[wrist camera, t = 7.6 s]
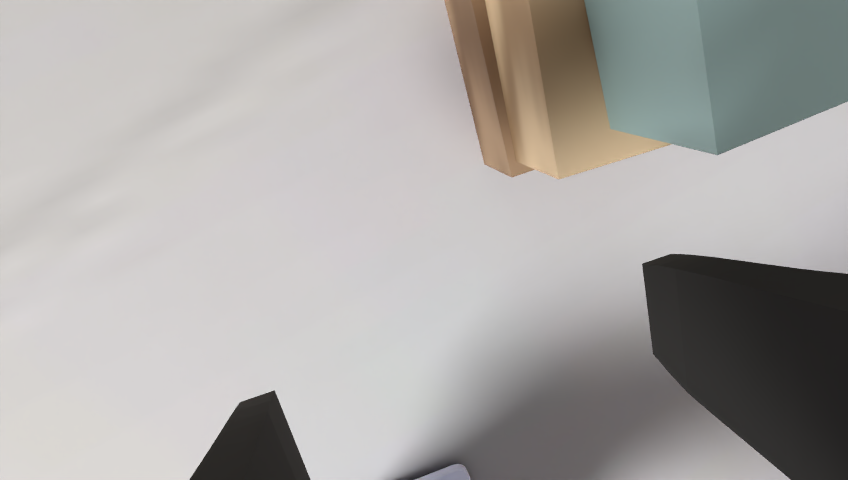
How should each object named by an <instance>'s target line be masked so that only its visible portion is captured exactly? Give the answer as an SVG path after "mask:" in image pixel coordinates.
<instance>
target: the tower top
mask: <svg viewBox="0 0 848 480" xmlns="http://www.w3.org/2000/svg"><path fill="white" fill-rule="evenodd" d="M485 3H486V9H487V14H488V19H489V24H490V29H491V34H492V40H493V45H494V50H495V55H496V60H497V66H498V71H499V76H500V81H501V86H502V92H503V97H504V102H505V107H506V112H507V117H508V123H509V128H510V133H511V138H512V143H513V149H514V154H515V159H516V162H518V163H521V164H523V165H525V166H528V167H530V168H533V169H535V170H537V171H540V172H542V173H545V174H547V175H549V176H552V177H554V178H557V179H562V178H565V177H568V176H571V175H574V174H578V173H581V172H584V171H587V170H591V169H594V168H597V167H600V166H603V165H607V164H610V163H613V162H616V161H620V160H623V159H626V158H629V157H632V156H636V155H639V154H642V153H645V152H648V151H652V150H655V149H658V148H661V147H665V146H668V145H671V144H670V143H666V142H662V141H658V140H654V139H649V138H645V137H641V136H637V135H633V134H629V133H625V132H621V131H617V130H613V129H610V124H609V120H608V115H607V110H606V105H605V100H604V95H603V90H602V85H601V80H600V75H599V71H598V66H597V61H596V56H595V51H594V46H593V41H592V36H591V31H590V26H589V21H588V17H587V12H586V7H585V2H584V0H485Z"/></svg>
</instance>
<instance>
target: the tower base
mask: <svg viewBox="0 0 848 480" xmlns="http://www.w3.org/2000/svg"><path fill="white" fill-rule="evenodd" d="M445 4H446V9H447V13H448V17H449V21H450V25H451V29H452V33H453V37H454V41H455V45H456V49H457V54H458V58H459V62H460V66H461V70H462V74H463V78H464V82H465V86H466V90H467V94H468V99H469V103H470V107H471V111H472V115H473V119H474V123H475V127H476V131H477V135H478V140H479V144H480V148H481V152H482V156H483V160H484V164H485V165H487V166H489V167H491V168H494V169H496V170H498V171H500V172H502V173H504V174H506V175H508V176H510V177H514V176H517V175H520V174H523V173H526V172H529V171H532V170H535V169H533V168H530V167H528V166H525V165H523V164H521V163H518V162H516V159H515V154H514V149H513V143H512V138H511V133H510V128H509V123H508V117H507V112H506V107H505V102H504V97H503V92H502V86H501V81H500V76H499V71H498V66H497V60H496V55H495V50H494V45H493V40H492V34H491V29H490V24H489V19H488V14H487V9H486V3H485V0H445Z"/></svg>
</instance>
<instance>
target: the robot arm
mask: <svg viewBox="0 0 848 480" xmlns="http://www.w3.org/2000/svg"><path fill="white" fill-rule="evenodd" d="M642 265H643V274H644V282H645V290H646V298H647V307H648V315H649V323H650V331H651V340H652V348H653V354H654V355H655V357H656V358H657V359H658V360H659V361H660V362H661V364H662V365H663V366H664V367H665V368H666V369H667V370H668V372H669V373H670V374H671V375H672V376H673V377H674V378H675V379H676V380H677V382H678V383H679V384H680V385H681V386H682V387H683V388H684V389H685V390H686V391H687V392H688V393H689V394H690V395H691V396H692V397H694V398H695V399H696V400H697V401H698V402H699V403H700V404H702V405H703V406H704V407H705V408H706V409H707V410H709V411H710V412H711V413H712V414H713V415H714V416H716V417H717V418H718V419H719V420H720V421H721V422H723V423H724V424H725V425H726V426H727V427H729V428H730V429H731V430H732V431H733V432H735V433H736V434H737V435H738V436H739V437H741V438H742V439H743V440H744V441H745V442H747V443H748V444H749V445H750V446H751V447H753V448H754V449H755V450H756V451H757V452H759V453H760V454H761V455H762V456H763V457H765V458H766V459H767V460H768V461H769V462H771V463H772V464H773V465H774V466H775V467H777V468H778V469H779V470H780V471H781V472H783V473H784V474H785V475H786V476H787V477H788V478H790V479H791V480H848V274H843V273H833V272H823V271H814V270H806V269H797V268H790V267H782V266H775V265H767V264H760V263H753V262H745V261H738V260H731V259H723V258H715V257H707V256H698V255H685V254H669V255H667V256H664V257H661V258H658V259H655V260H652V261H649V262H646V263H643V264H642ZM190 480H310V478H309V475H308V473H307V470H306V468H305V465H304V463H303V460H302V458H301V455H300V453H299V450H298V448H297V445H296V443H295V440H294V438H293V435H292V433H291V430H290V428H289V425H288V423H287V420H286V418H285V415H284V413H283V410H282V408H281V405H280V403H279V400H278V398H277V395H276V393H275V391H272V392H269V393H266V394H263V395H260V396H257V397H254V398H251V399H248V400H245V401H243V402H240V403H239V405H238V406H237V407H236V409H235V410H234V412H233V413H232V415H231V416H230V418H229V420H228V421H227V423H226V424H225V426H224V427H223V429H222V431H221V432H220V434H219V435H218V437H217V439H216V440H215V442H214V443H213V445H212V446H211V448H210V449H209V451H208V452H207V454H206V456H205V457H204V459H203V460H202V462H201V463H200V465H199V466H198V468H197V469H196V471H195V472H194V474H193V475H192V477H191V478H190ZM415 480H471V479H470V476H469V473H468V471H467V469H466V467H465V466H463V465H462V464H454V465H451V466H448V467H446V468H443V469H441V470H438V471H436V472H433V473H430V474H428V475H425V476H423V477H420V478H418V479H415Z"/></svg>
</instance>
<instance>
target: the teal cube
mask: <svg viewBox="0 0 848 480" xmlns="http://www.w3.org/2000/svg"><path fill="white" fill-rule="evenodd" d="M584 2H585V7H586V12H587V17H588V21H589V26H590V31H591V36H592V41H593V46H594V51H595V56H596V61H597V66H598V71H599V75H600V80H601V85H602V90H603V95H604V100H605V105H606V110H607V115H608V120H609V124H610V129H613V130H617V131H621V132H625V133H629V134H633V135H637V136H641V137H645V138H649V139H654V140H658V141H662V142H666V143H670V144H674V145H678V146H682V147H686V148H690V149H695V150H699V151H703V152H707V153H711V154H715V155H719V154H721V153H724V152H726V151H729V150H731V149H734V148H736V147H738V146H741V145H743V144H746V143H748V142H750V141H753V140H755V139H758V138H760V137H763V136H765V135H767V134H770V133H772V132H775V131H777V130H780V129H782V128H784V127H787V126H789V125H792V124H794V123H797V122H799V121H801V120H804V119H806V118H809V117H811V116H814V115H816V114H818V113H821V112H823V111H826V110H828V109H830V108H833V107H835V106H838V105H840V104H843V103H845V102H847V101H848V0H584Z"/></svg>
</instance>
